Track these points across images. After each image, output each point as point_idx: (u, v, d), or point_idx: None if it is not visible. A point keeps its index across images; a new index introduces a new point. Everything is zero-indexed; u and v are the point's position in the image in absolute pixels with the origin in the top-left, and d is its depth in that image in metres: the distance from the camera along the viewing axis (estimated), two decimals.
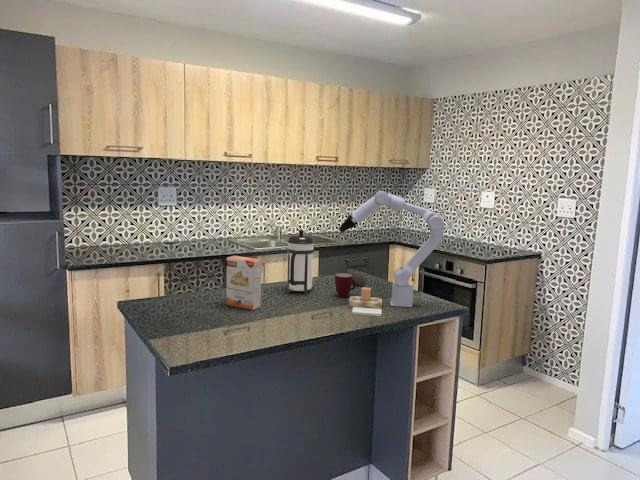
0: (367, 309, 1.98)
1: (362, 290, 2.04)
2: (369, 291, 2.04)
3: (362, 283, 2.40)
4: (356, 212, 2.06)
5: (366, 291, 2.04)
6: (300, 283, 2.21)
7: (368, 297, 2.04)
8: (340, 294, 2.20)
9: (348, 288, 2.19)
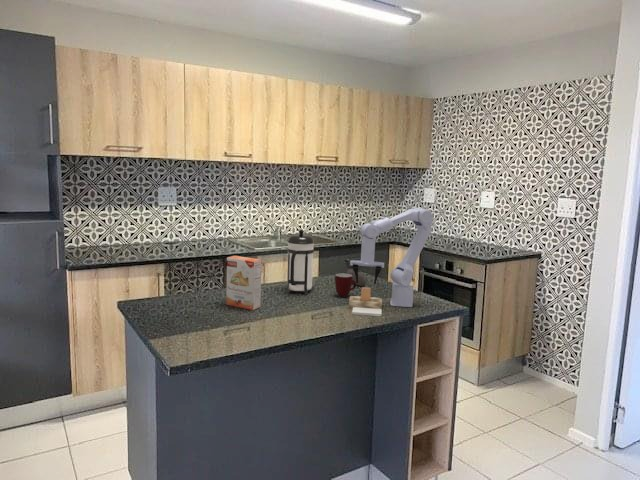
0: (367, 309, 1.98)
1: (362, 290, 2.04)
2: (369, 291, 2.04)
3: (362, 283, 2.40)
4: (372, 260, 2.02)
5: (366, 291, 2.04)
6: (300, 283, 2.21)
7: (368, 297, 2.04)
8: (340, 294, 2.20)
9: (348, 288, 2.19)
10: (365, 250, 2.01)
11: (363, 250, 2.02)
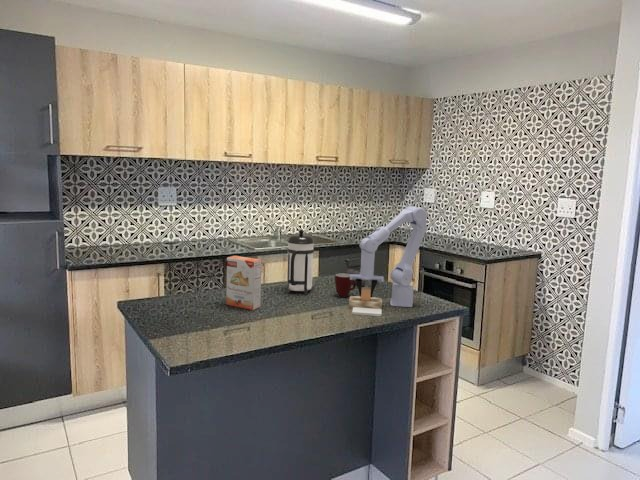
0: (367, 309, 1.98)
1: (362, 290, 2.04)
2: (369, 291, 2.04)
3: (362, 283, 2.40)
4: (371, 274, 2.03)
5: (366, 291, 2.04)
6: (300, 283, 2.21)
7: (368, 297, 2.04)
8: (340, 294, 2.20)
9: (348, 288, 2.19)
10: (364, 264, 2.02)
11: (362, 264, 2.02)
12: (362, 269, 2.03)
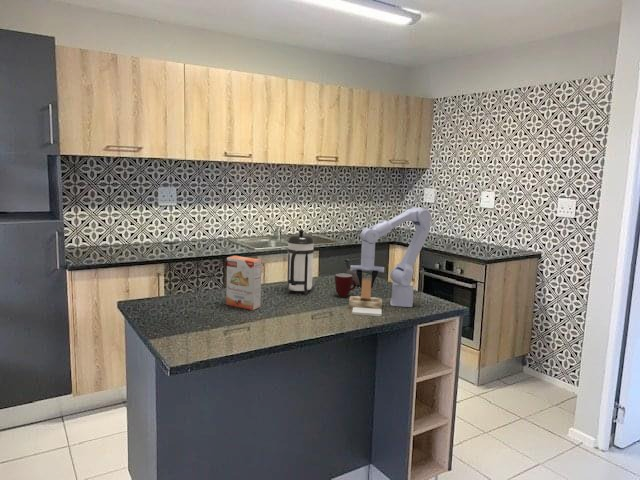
0: (367, 309, 1.98)
1: (363, 281, 2.03)
2: (370, 282, 2.03)
3: None
4: (372, 265, 2.02)
5: (367, 282, 2.03)
6: (300, 283, 2.21)
7: (369, 288, 2.04)
8: (340, 294, 2.20)
9: (348, 288, 2.19)
10: (365, 255, 2.01)
11: (363, 255, 2.02)
12: (362, 260, 2.02)
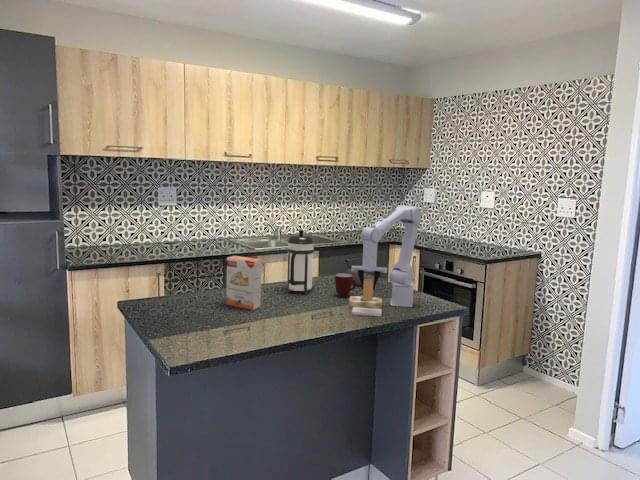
0: (367, 309, 1.98)
1: (364, 282, 1.94)
2: (372, 283, 1.94)
3: None
4: (374, 265, 1.92)
5: (368, 283, 1.94)
6: (300, 283, 2.21)
7: (371, 289, 1.94)
8: (340, 294, 2.20)
9: (348, 288, 2.19)
10: (370, 255, 1.91)
11: (367, 255, 1.91)
12: (364, 260, 1.93)
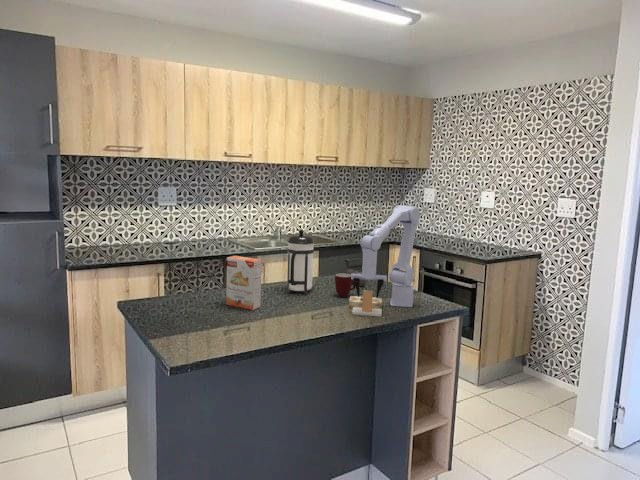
0: None
1: (364, 293, 1.95)
2: (371, 294, 1.94)
3: (362, 283, 2.40)
4: (374, 273, 1.93)
5: (368, 294, 1.95)
6: (300, 283, 2.21)
7: (370, 301, 1.95)
8: (340, 294, 2.20)
9: (348, 288, 2.19)
10: (369, 263, 1.92)
11: (367, 263, 1.92)
12: (364, 268, 1.93)
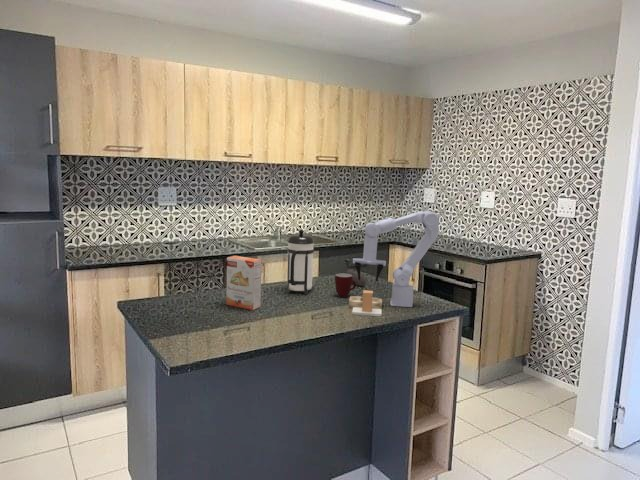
0: None
1: (364, 293, 1.95)
2: (371, 294, 1.94)
3: (362, 283, 2.40)
4: (374, 258, 2.07)
5: (368, 294, 1.95)
6: (300, 283, 2.21)
7: (370, 301, 1.95)
8: (340, 294, 2.20)
9: (348, 288, 2.19)
10: (366, 248, 2.07)
11: (364, 248, 2.08)
12: (365, 253, 2.07)
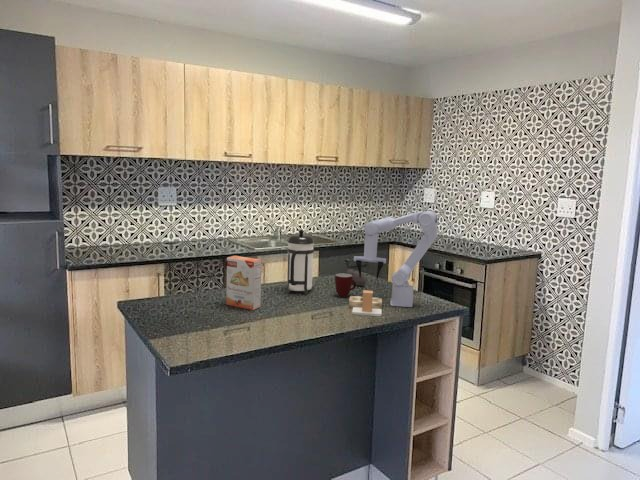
0: None
1: (364, 293, 1.95)
2: (371, 294, 1.94)
3: (362, 283, 2.40)
4: (374, 256, 2.13)
5: (368, 294, 1.95)
6: (300, 283, 2.21)
7: (370, 301, 1.95)
8: (340, 294, 2.20)
9: (348, 288, 2.19)
10: (365, 246, 2.13)
11: (364, 246, 2.14)
12: (366, 251, 2.13)
